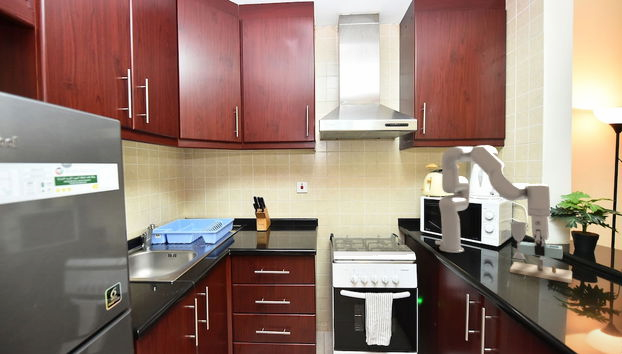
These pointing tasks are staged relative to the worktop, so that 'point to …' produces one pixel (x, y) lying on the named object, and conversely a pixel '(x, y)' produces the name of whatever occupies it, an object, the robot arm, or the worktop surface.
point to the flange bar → (549, 250)
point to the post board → (542, 271)
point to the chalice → (518, 236)
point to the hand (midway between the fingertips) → (540, 253)
